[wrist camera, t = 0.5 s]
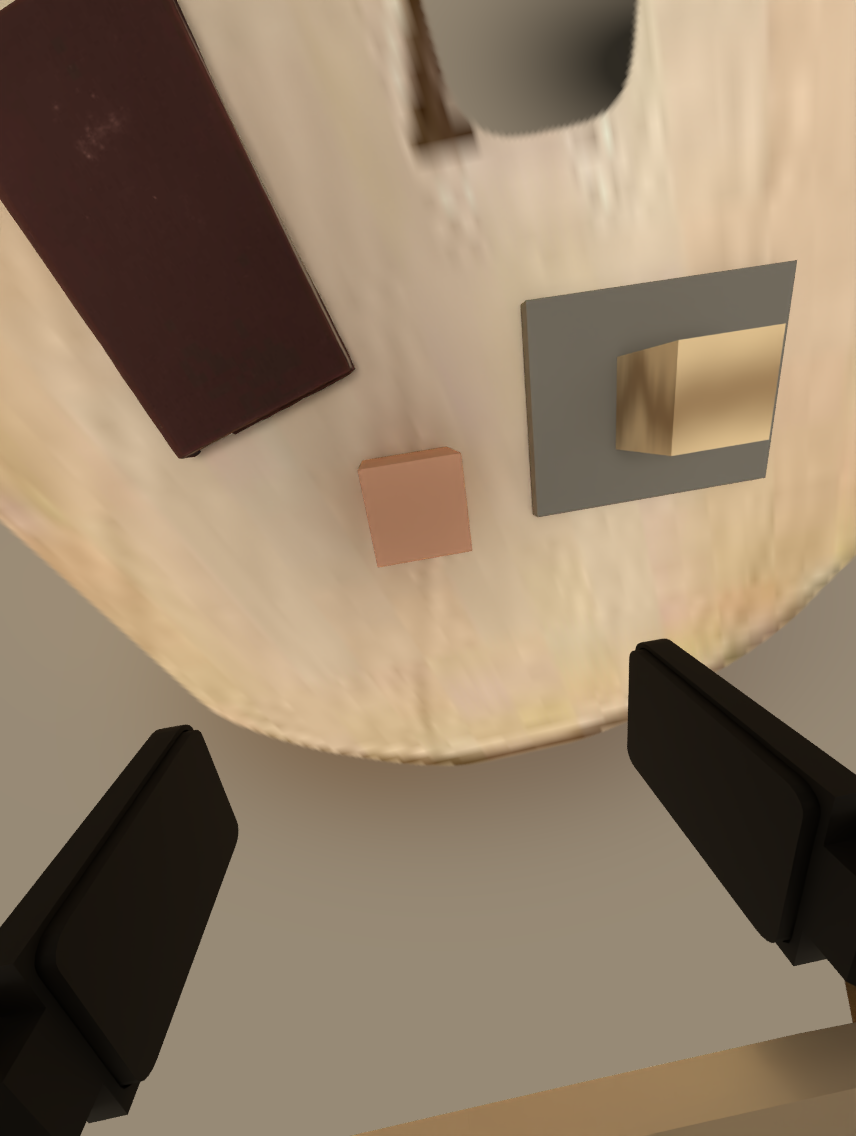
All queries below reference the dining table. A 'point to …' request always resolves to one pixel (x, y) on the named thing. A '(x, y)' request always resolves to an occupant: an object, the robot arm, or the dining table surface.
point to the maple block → (699, 392)
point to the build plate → (589, 383)
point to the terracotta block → (416, 505)
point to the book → (156, 217)
